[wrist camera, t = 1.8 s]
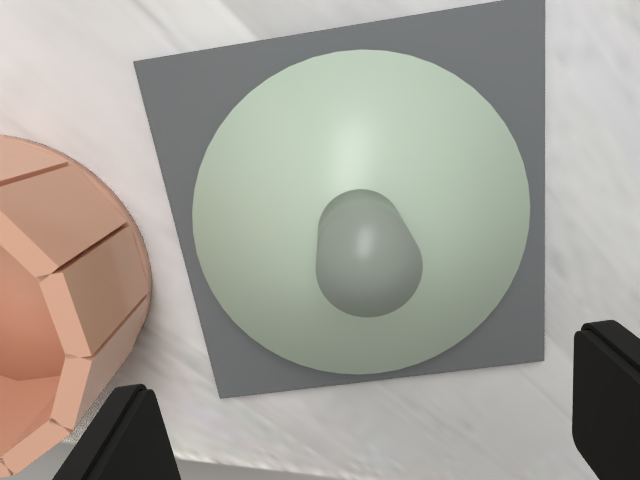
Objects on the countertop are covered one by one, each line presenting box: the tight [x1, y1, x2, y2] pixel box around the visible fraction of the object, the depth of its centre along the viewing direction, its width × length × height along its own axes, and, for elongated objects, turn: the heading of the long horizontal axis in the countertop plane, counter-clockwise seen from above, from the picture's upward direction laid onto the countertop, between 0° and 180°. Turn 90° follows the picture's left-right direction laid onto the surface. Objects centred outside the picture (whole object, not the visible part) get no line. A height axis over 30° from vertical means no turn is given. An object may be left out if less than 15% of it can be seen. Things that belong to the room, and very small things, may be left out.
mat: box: [133, 0, 545, 399], centre depth 23 cm, size 18×18×1 cm
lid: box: [192, 49, 530, 375], centre depth 20 cm, size 16×16×6 cm
